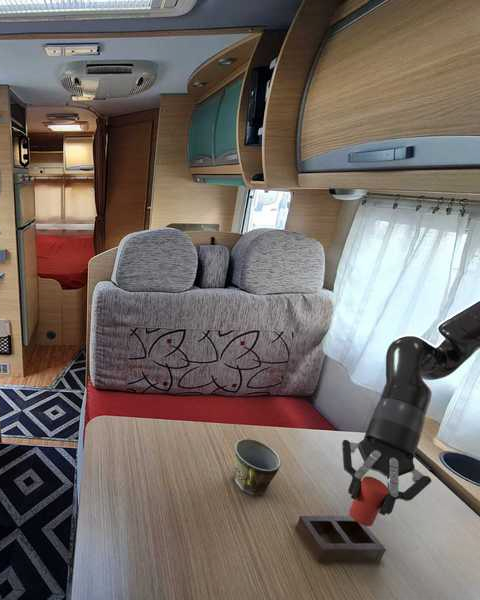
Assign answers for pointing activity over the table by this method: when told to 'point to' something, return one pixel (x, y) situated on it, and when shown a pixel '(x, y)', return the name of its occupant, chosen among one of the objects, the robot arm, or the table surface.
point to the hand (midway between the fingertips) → (367, 505)
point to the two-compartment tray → (339, 539)
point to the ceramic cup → (255, 465)
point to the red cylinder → (368, 501)
